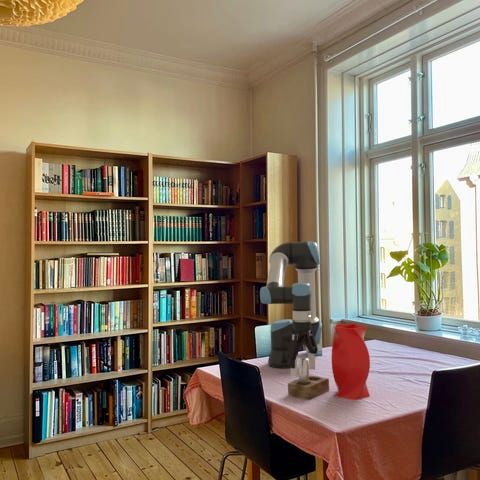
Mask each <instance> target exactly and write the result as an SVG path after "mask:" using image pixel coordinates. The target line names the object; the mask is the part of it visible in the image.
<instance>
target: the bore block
mask: <svg viewBox="0 0 480 480" xmlns="http://www.w3.org/2000/svg"><path fill="white" fill-rule="evenodd" d="M329 391H330V378H328V377H323V376H317V375H311V374H309V384H307V385H301V384H299V378H297V379H295V380H292V381H290V382H288V383H287V396H289V397H293V398H294V397H295V398H297V399H302V400H307V401H310V400H312V399H315V398H317V397H318V396H320V395H323V394H324V393H327V392H329Z"/></svg>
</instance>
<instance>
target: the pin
mask: <svg viewBox="0 0 480 480" xmlns="http://www.w3.org/2000/svg"><path fill="white" fill-rule="evenodd" d="M298 361H299V364H298V379H299V384H301V385H307V384H309V375H310V369H309V358H308V357H306V356H304V357H299V360H298Z"/></svg>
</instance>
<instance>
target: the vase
mask: <svg viewBox="0 0 480 480" xmlns="http://www.w3.org/2000/svg"><path fill="white" fill-rule="evenodd" d="M333 328H334V333H333V338H332V345H331V370H332V375H333V380H334V382H335V386H336V389H337V392H336V394H335V395H334V397H336V398H341V399H346V400H351V401H357V400H362V399H366V398H370V396H371V395H370V393H369V388H368V386H367V380H368V377H369V373H370V367H371V358H370V353H369V350H368V347H367V344H366V342H365V339H364V337H365V335H366V331H367V329H368V326H367V325H363V324H358V323H336V324H335V325H334V326H333Z"/></svg>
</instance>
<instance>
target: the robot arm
mask: <svg viewBox="0 0 480 480" xmlns="http://www.w3.org/2000/svg"><path fill="white" fill-rule="evenodd" d="M319 252H320V251H319V247H318V243H317V242H315V241H297V242H296V241H289V242H283V243H280V244H279V245H277V246H276V247H275V248H274V249H273V250H272V252H271V253H270V255H269V260H268V263H269V269H268V270H269V271H268V275H267V282H266V286H265V285H264V286H262V287H261V288H260V291H259V298H260V303H262V304H265V305H268V304H269V305H282V304H283V305H288V304H289V305H292V319H289V318H288V319H287V318H285V319H279V320H275V321H273V322H272V323H271V324H270V352H269V356H268V360H267V365H268V367H271V368H276V369H289V368H290V377H297V378H298V359H297V357H298V354H299V352H300V349H301V347H303V346H305V348H306V347H307V349H308V350H309V352H310V353H308V355H307V356H308V357H307V358H309V370H313V371H314V370H316V356H315V354H317V351H318V348H317V345H318V344H319V343H320V339H321V335H322V329H323V328H322V327H323V323H322V322H320V319H319V317H317V310H316V308H317V307H316V306H317V305H316V278H315V276H316V273H315V272H316V270H318V266H319V265H321V258H320V253H319ZM292 265H293V266H294V269H295V270H296V272H297V282H295V283H292V285H291V286H284V283H285V274H286V268H287V266H292ZM314 347H315V348H314Z"/></svg>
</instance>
